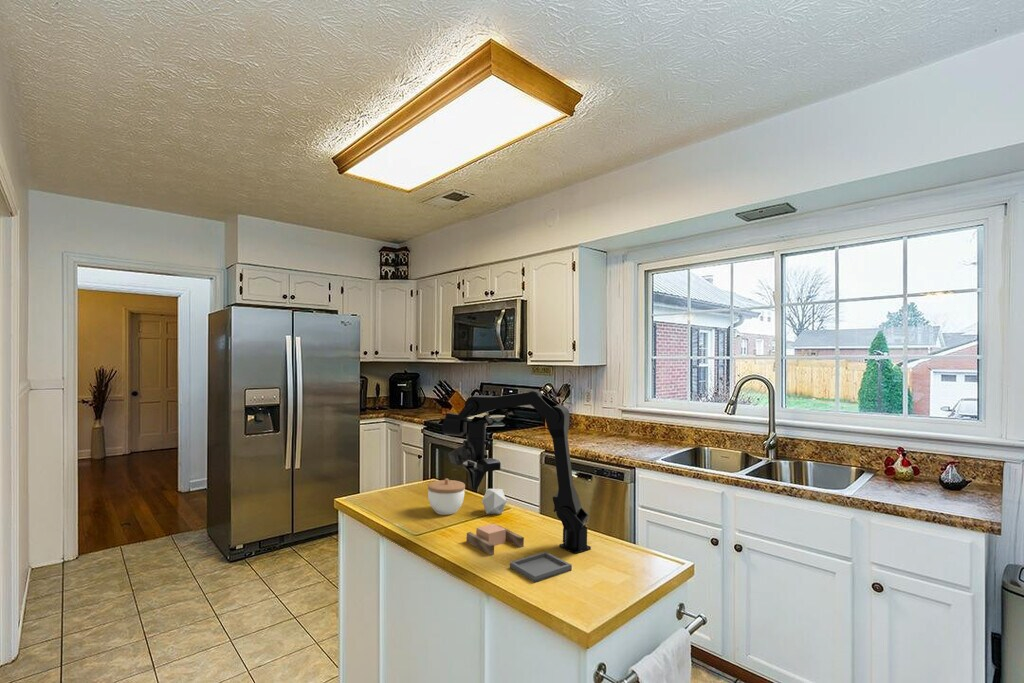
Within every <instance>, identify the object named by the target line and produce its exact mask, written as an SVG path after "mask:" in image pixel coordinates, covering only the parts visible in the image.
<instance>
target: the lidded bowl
mask: <svg viewBox="0 0 1024 683" xmlns="http://www.w3.org/2000/svg"><path fill="white" fill-rule="evenodd" d="M465 489H466V484H465V483H464V482H462V481H459V480H453V479H452V480H451V479H449V478H444V479H441V480H435V481H432V482H429V483H428V484H427V497H428V498H427V499H428V502H429V505H430V507H431V508H432V509H433V510H434V512H435V513H436V514H437V515H440V516H442V515H444V516H447V515H449V516H450V515H454V514H456V513H457V511H458V510H459V509H460V508H461V506H462V505H463V502H464V499H465V494H466V493H465Z"/></svg>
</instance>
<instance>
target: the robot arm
mask: <svg viewBox="0 0 1024 683" xmlns="http://www.w3.org/2000/svg"><path fill="white" fill-rule="evenodd" d="M521 406H531V407H533V408H534V409H535V411H536V412H537V413H538V414H539V415H540V416H542V418H544V420H545V424H546V426H547V427H546V428H547V430H548V433H549V435H550V436H551V439H552V445H553V452H554V453H553V454H554V461H555V471H556V477H557V478H556V480H557V486H558V491H557V492H556V493H555V494H554V495H553V496H552V502H553V504H554V505H553V506H554V507H553V508H554V509H553V512H554V513H556V517H557V518H558V519H559V520H560V521H561V524H562V527H563V528H562V543H560V544H559V547H560V548H562V549H563V550H566V551H568V552H571V553H572V554H579V553H583V552H585V551H588V550H591V548H592V546H590V545H588V527H586V525H585V524H586V523H587V522H588V519H589V515H588V513H587V512H586V511H585V510H584V509H583V507H582V504H581V500H580V497H579V494H578V492H577V490H576V488H575V485H574V479H573V471H572V462H571V453H570V447H569V439H568V438H569V437H568V436H569V435H568V434H569V429H570V428H569V427H570V416H571V414H570V410H569V408H567V407H566V406H565V405H561V404H558V403H557V402H555V401H554V400H552V399H550V398H549V397H547V396H546V395H545V394H543V393H542V392H541V391H540V390H531V391H529V392H520V393H515V394H514V393H513V394H507V395H499V396H498V395H497V396H496V395H480V394H479V395H474V396H469V397H467V399H466V401H465V402H464V407H463V408H462V410H461V411H460V412H459V413H454V412H446V413H445V417H444V419H443V421H442V425H441V430H442V433H443V435H445V436H456V437H463V436H464V435H465V434H466V439H463V441H462V445H461V446H458V447H456V448H455V449H453V450H451V451H449V452H448V454H447V455H448V457H449V461H450V464H454V465H455V466H461V467H462V468H463V469H465V470H466V472H467V476H468V478H469V484H470V485H471V489H472V490H474V491H476V490H478V488H479V487H480V485H481V483H482V480H483V478H484V476H485V475H486V473H488V472H494V471H500V470H501V468H502V464H501V461H500V460H498V459H496V458H492V457H491V458H490V457H489V454H487V453H486V446H487V445H489V440H486V433H487V432H486V428H487V424H492V423H493V419H492V418H491V417H490V416H489V415H488V414H486V413H489V412H493V411H494V410H499V409H506V408H508V409H509V408H514V407H521ZM482 414H483V416H478V415H482ZM484 414H485V415H484ZM471 417H473V418H472V419H470V418H471ZM488 457H489V458H488Z"/></svg>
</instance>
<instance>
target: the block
mask: <svg viewBox="0 0 1024 683" xmlns="http://www.w3.org/2000/svg"><path fill="white" fill-rule="evenodd" d="M499 526H500V525H499ZM499 526H498V525H497V524H495V523H491V524H486V525H482V526H478V527H476V531H475V532H476V533H475V535H477V536H479V537H480V538H482V539H484V540H486V541H488V542H489V543H491V544H493V545H494V547H495V546H498V545H499V546H500V545H503V544H505V543H506V540H505V539H506V529H507V528H506V529H504V528H505V527H503V528H501V527H502V526H501V527H499Z"/></svg>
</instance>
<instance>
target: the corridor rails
mask: <svg viewBox="0 0 1024 683" xmlns="http://www.w3.org/2000/svg"><path fill="white" fill-rule="evenodd" d="M497 526H499V527H501V528H504V529H506V539H505V541H506V542H507V541H508V542H509V543H511V544H513V545H515V546H517V547H519V548H523V547H524V546H525V544H524V543H525V537H524V536H522V535H520V534H517V533H516V532H514V531H511V530H510V529H508V528H506V527H503V526H501V525H497ZM466 543H468V544H470V545H471V546H473V547H475V548H477V549H478V550H480V551H482V552H483V553H486V554H487V555H489V556H493V555H495V546H494V545H493V544H491V543H489V542H488V541H486V540H484V539H482V538H480V537H479V536H477V535H476V533H475V534H474V533H473V532H471V531H468V532H466Z"/></svg>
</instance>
